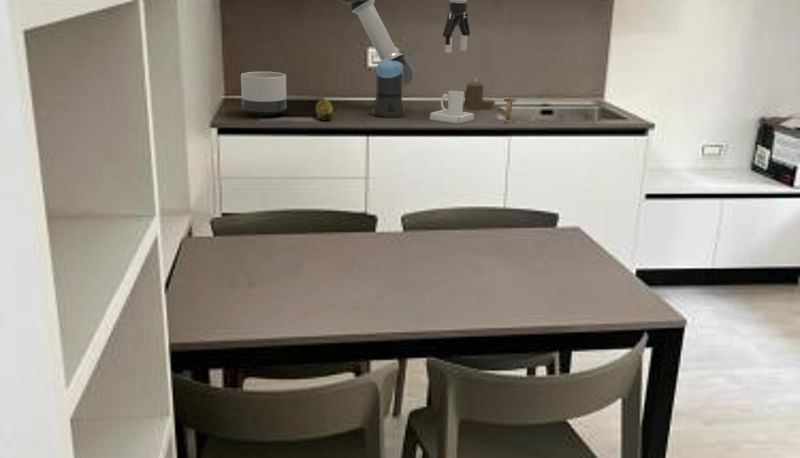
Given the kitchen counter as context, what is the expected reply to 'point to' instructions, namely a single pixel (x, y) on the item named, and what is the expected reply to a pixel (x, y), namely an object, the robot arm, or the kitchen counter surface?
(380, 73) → the robot arm
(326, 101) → the potato
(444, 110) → the mug
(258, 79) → the planter
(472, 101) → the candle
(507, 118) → the post
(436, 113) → the tray
